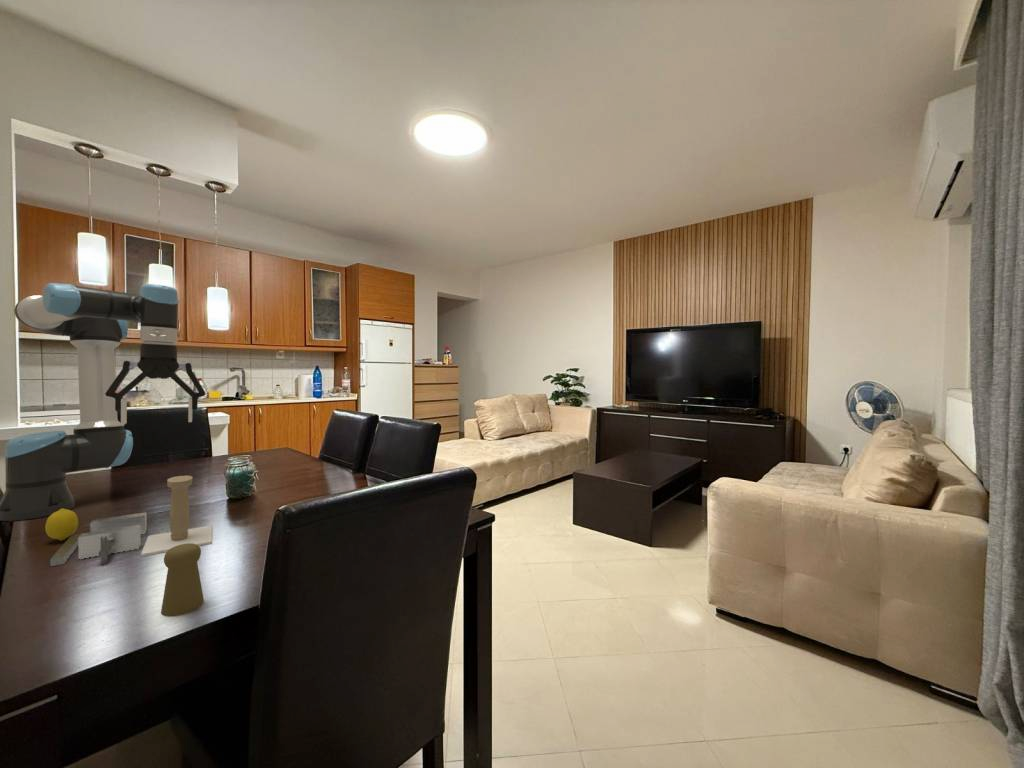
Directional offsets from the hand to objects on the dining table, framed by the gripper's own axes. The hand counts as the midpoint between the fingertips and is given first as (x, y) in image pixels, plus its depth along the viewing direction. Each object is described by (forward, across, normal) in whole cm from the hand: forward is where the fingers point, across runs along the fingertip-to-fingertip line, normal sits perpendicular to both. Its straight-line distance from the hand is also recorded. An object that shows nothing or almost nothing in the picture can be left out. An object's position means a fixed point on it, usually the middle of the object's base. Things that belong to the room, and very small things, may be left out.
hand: (158, 422), depth 110 cm
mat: (+28, +6, -15) cm, 32 cm away
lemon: (+29, -18, 0) cm, 34 cm away
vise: (+29, -9, -12) cm, 33 cm away
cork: (+27, +8, -52) cm, 59 cm away
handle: (+27, +6, -15) cm, 32 cm away
